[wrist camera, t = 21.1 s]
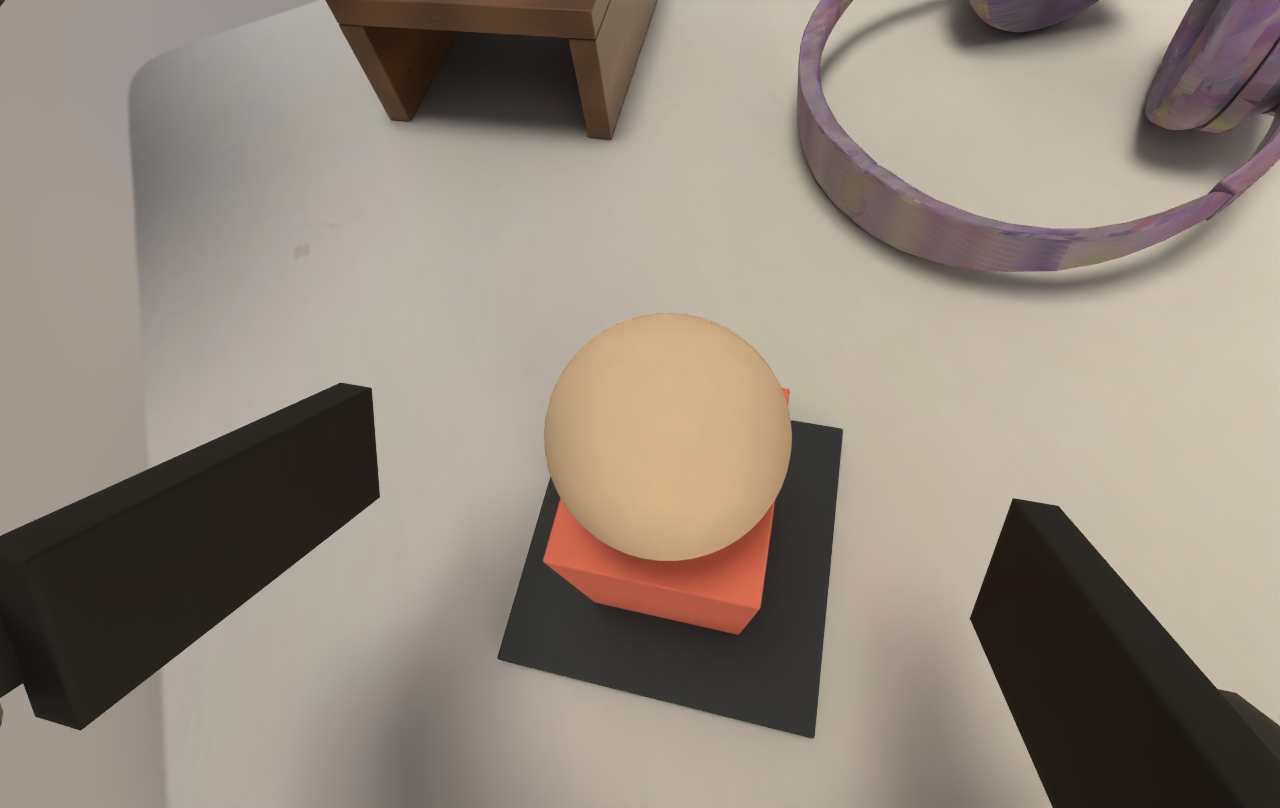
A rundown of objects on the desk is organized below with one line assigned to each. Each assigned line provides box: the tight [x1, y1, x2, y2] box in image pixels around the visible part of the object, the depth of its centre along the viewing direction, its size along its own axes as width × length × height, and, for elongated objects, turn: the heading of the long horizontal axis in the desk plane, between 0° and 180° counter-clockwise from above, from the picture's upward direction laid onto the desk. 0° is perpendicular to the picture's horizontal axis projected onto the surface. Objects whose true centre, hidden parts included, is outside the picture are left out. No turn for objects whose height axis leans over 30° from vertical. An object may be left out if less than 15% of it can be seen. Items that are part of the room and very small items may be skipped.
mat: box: [498, 421, 843, 738], centre depth 21 cm, size 10×10×1 cm
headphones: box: [797, 0, 1280, 272], centre depth 25 cm, size 18×8×20 cm
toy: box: [543, 314, 792, 635], centre depth 15 cm, size 5×5×12 cm
